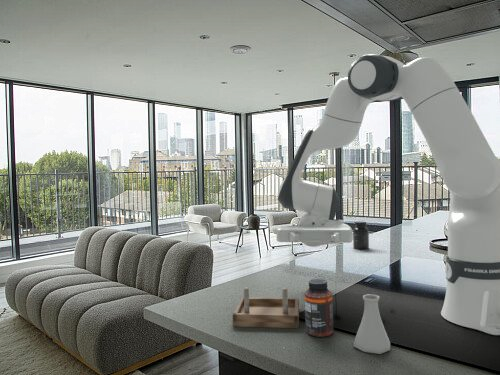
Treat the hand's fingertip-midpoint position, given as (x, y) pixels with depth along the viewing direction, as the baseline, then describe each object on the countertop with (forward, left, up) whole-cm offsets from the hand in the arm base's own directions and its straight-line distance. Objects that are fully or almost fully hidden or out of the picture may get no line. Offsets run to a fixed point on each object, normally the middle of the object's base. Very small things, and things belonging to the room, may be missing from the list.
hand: (314, 239), depth 97 cm
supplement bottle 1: (0, +15, -18) cm, 23 cm away
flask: (-10, +21, -18) cm, 29 cm away
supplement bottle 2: (-23, -79, -18) cm, 85 cm away
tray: (+12, +7, -18) cm, 23 cm away
